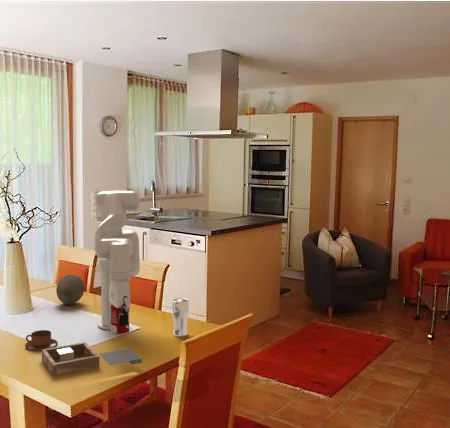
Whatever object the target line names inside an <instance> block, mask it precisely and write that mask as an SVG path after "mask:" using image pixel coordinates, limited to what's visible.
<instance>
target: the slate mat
mask: <svg viewBox="0 0 450 428" xmlns="http://www.w3.org/2000/svg"><path fill="white" fill-rule="evenodd" d="M99 356H100V357H102V358H103V360H104V361H105V362H106V363H108V365H110V366H114V365H117V364H122V363H126V362H129V363H130V364H135V363H139V362H140V363H141V362H142V357H140V356H139V355H138V354H137V353H135V352H134V351H133V350H132V349H131V348H129V347H128V348H122V349H118V350H112V351H108V352H102V353H99Z"/></svg>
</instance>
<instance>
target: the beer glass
mask: <svg viewBox="0 0 450 428" xmlns="http://www.w3.org/2000/svg"><path fill="white" fill-rule="evenodd" d="M189 307H190V306H189V299H188V298H181V297H178V298H174V299H173V300H172V306H171V310H172V312H171V313H172V320H173V325H174V326H173V333H172V335H173V336H174V337H179V338H183V337H186V336H187V335H188V330H187V324H188V319H189V310H190V308H189Z"/></svg>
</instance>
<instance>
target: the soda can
mask: <svg viewBox="0 0 450 428" xmlns="http://www.w3.org/2000/svg"><path fill="white" fill-rule="evenodd" d="M122 306H125V305H122ZM122 306H121V307H122ZM124 309H125V308H122V310H124ZM120 315H121V314H120V308H116V307H115V306H113V305H111V330H110V333H111V334H112V335H114V336H125V335H127V334H128V333H130V314H129V315H128V325H125V326H120Z"/></svg>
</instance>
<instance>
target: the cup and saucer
mask: <svg viewBox="0 0 450 428" xmlns="http://www.w3.org/2000/svg"><path fill="white" fill-rule="evenodd" d="M30 337H31V338H30ZM29 338H30V339H31V340H29ZM25 341H26V343H25V345H24V348H25V349H26V350H28V351H32V352H42V350H43V349H49V348H55V347H57V346H58V341H57V340H56V339H54V338H52V332H51V331H50V330H46V329H44V330H43V329H42V330H35V331H33V332H31V334H27V335H26V337H25ZM54 344H55V345H54ZM51 345H53V346H51ZM50 346H51V347H50Z"/></svg>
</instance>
